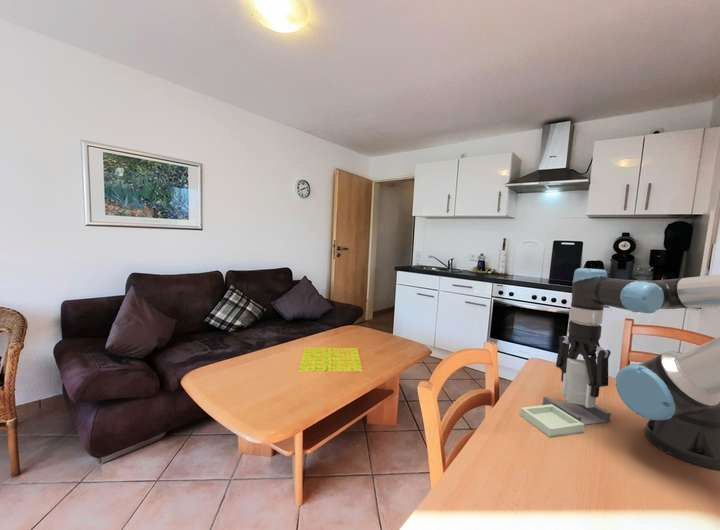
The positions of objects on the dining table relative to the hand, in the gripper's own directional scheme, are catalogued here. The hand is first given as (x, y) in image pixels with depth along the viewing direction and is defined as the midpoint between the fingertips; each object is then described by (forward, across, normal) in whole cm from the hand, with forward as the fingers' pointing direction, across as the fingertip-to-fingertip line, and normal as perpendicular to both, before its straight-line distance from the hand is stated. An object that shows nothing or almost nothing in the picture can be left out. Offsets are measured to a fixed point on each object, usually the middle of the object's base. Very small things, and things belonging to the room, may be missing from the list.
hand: (577, 400), depth 89 cm
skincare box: (+1, 0, 0) cm, 1 cm away
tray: (+4, -2, +12) cm, 13 cm away
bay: (+4, 0, 0) cm, 4 cm away
